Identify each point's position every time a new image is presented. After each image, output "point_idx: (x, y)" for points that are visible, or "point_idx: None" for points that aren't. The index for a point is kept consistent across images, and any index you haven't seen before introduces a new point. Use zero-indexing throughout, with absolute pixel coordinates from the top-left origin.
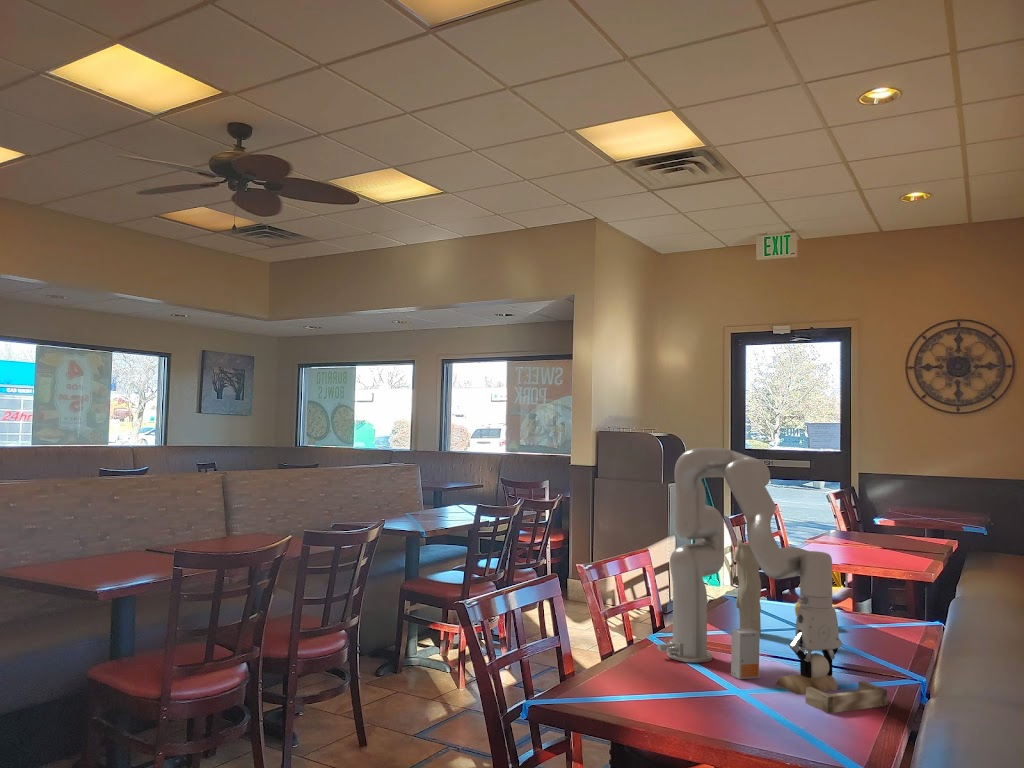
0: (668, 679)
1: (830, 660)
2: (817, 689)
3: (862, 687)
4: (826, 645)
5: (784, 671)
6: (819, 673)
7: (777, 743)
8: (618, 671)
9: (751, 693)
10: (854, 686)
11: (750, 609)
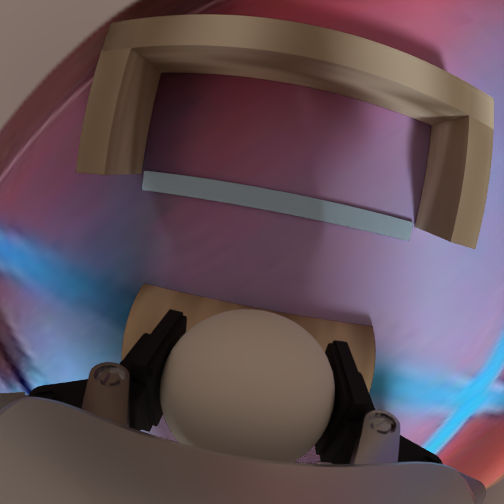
0: (471, 467)
1: (146, 365)
2: None
3: (120, 146)
4: (200, 492)
5: None
6: (299, 326)
7: None
8: None
9: (467, 379)
10: (66, 273)
11: None
